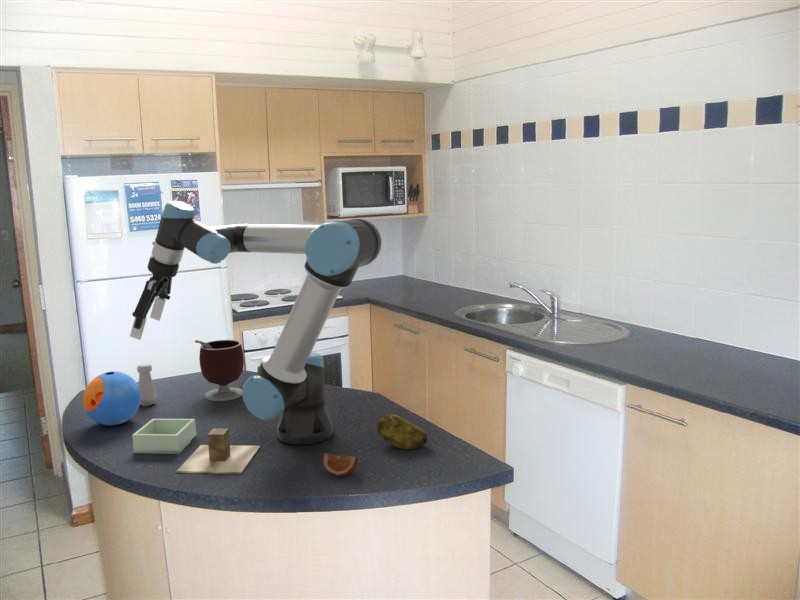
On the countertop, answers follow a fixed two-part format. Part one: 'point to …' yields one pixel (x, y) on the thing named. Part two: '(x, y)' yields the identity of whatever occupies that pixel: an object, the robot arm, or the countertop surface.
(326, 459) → the fruit slice
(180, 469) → the lid
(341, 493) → the countertop surface
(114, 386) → the treat dispenser ball
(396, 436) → the potato
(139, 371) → the salt shaker
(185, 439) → the dish
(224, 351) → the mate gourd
